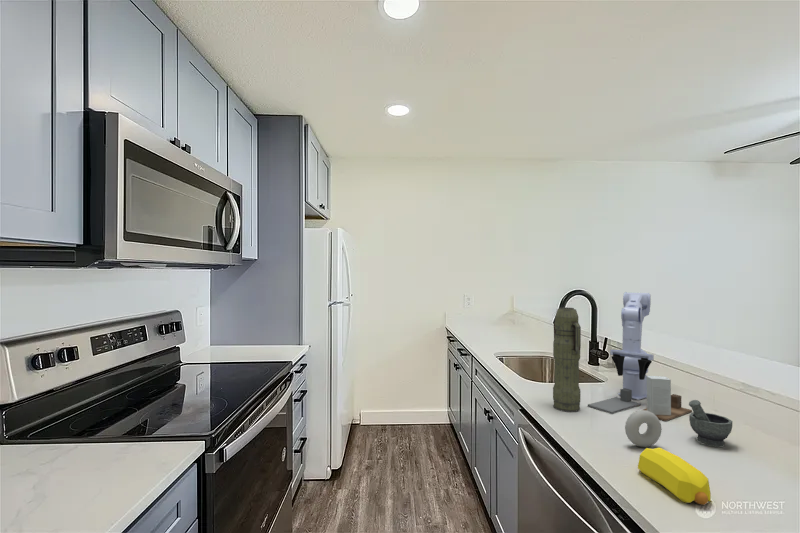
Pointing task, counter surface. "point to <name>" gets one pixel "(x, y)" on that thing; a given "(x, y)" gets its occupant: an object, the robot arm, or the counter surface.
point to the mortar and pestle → (709, 426)
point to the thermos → (566, 360)
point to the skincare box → (659, 395)
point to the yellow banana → (675, 475)
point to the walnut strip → (674, 409)
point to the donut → (651, 433)
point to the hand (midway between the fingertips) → (630, 377)
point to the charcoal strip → (616, 402)
